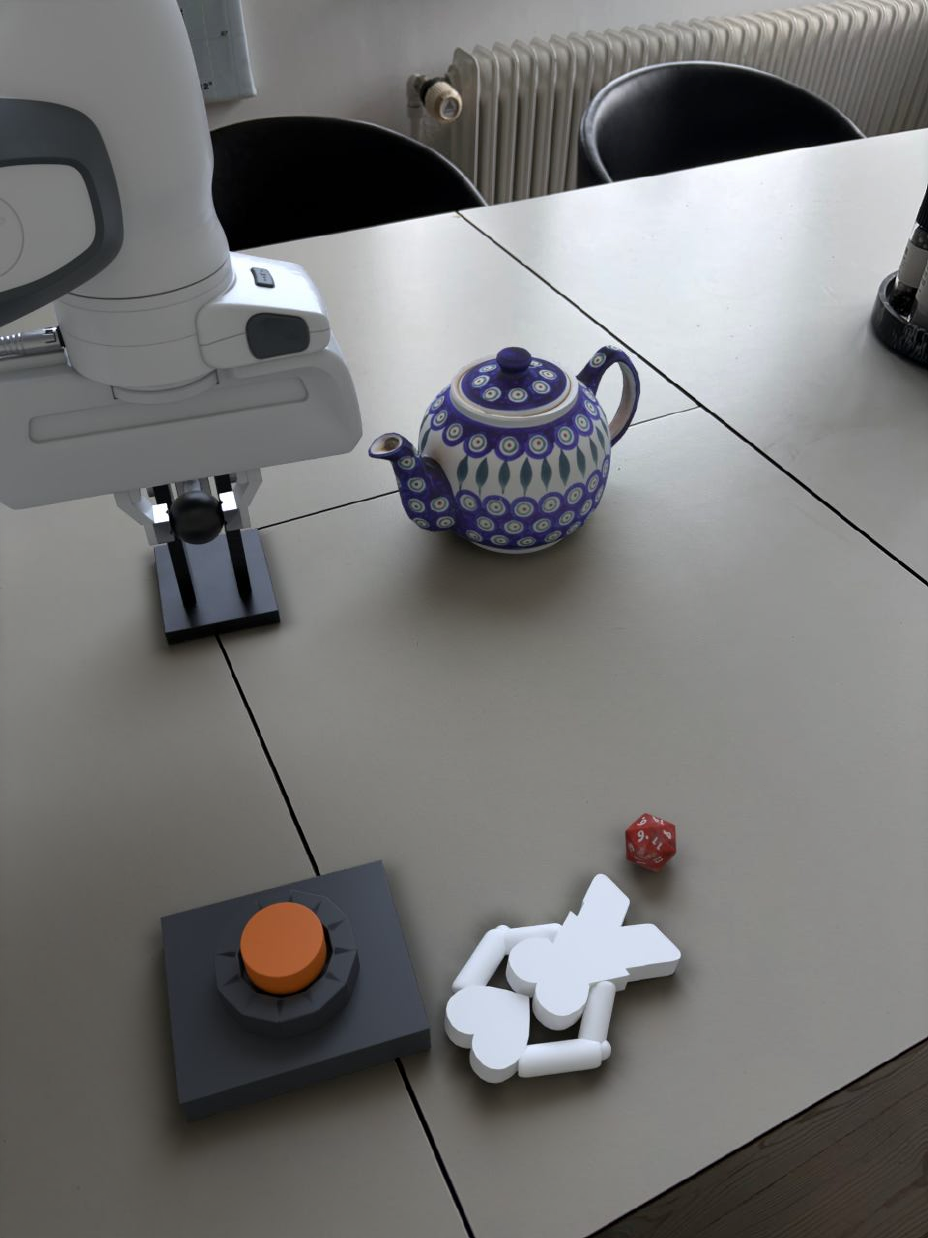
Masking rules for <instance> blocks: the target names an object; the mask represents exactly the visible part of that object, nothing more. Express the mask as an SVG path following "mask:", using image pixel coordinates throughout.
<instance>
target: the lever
mask: <svg viewBox="0 0 928 1238" xmlns="http://www.w3.org/2000/svg"><path fill="white" fill-rule="evenodd" d="M174 486H175V487H174V488H175V492H176V496H177V497H176V498H174V499H175V501H174V502H173V504H172V505H171V508H170V511H169V519H170V523H171V529H172V531H173V532H174V534H175V535H176V536H177V537H178V538H179V539H181V540H182V541H184V542H186V543H189V544H194V545H201V544H206V543H208V542H211V541H212V540H214V539H215V538H216V537H217V536H218V535H221V533H222V530H223V528H224V515H223V510H222V506H221V504H220V503H219V500H218V498H216V497H215V496H214V495H212V491H211V484H210V481H209V477H206V478H200V479H194V480H189V481H183V482H177V483H174Z"/></svg>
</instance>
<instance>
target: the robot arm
mask: <svg viewBox="0 0 928 1238" xmlns="http://www.w3.org/2000/svg"><path fill="white" fill-rule="evenodd" d="M197 68H198V67H197V63H196V60H195V56H194V52H193V48H192V44H191V41H190V36H189V33H188V31H187V27H186V25H185V21H184V18H183V15H182V12H181V8H180V7H179V4H178V1H177V0H0V328H2V327H5V326H6V325H9V324H11V323H13V322H15V321H17V320H19V319H22V318H23V317H25V316H27V315H30V314H31V313H34V312H36V311H38V310H40V309H42V308H43V307H45V306H47V305H49V304H52V309H53V312H54V314H55V318H56V322H57V326H49V327H43V328H37V329H28V330H24V331H19V332H15V333H11V334H6V335H1V336H0V503H1V504H3V505H4V506H6V507H8V508H9V509H10V510H11V509H12V510H17V511H18V510H25V509H31V508H36V507H43V506H48V505H54V504H55V505H56V504H61V503H67V502H71V501H72V502H73V501H76V500H77V501H78V500H82V499H89V498H95V497H101V496H106V495H107V496H108V495H113V497H114V500H115V504H116V507H117V508H119V509H120V510H121V511H122V512H124V513H125V514H126V515H128V516H129V517H130V518H131V519H132V520H134V521H135V522H136V523H138V524H139V525H140V526H143V527H144V531H145V536H146V539H147V543H148V546H149V547H152V546H156V545H157V546H158V545H165V544H167V543H169V542H174V541H175V539H174V535H173V531H172V529H171V523H170V519H169V511H168V507H167V503H165V504H159V505H157V504H153V503H151V502H150V501H149V500H148V499H147V498H146V497H145V496H144V495H143V494H142V491H141V490H142V489H146V488H148V487H154V486H159V485H165V484H171V485H172V484H175V483H177V482H183V481H189V480H194V479H200V478H206V477H208V478H212V477H214V476H218V475H224V474H229V473H235V472H236V476H237V481H236V483H234V486H233V487H232V492H227V493H222V494H219V496H220V501H221V506H222V510H223V515H224V520H225V524H226V529H227V531H232V530H238V529H240V530H246V529H249V528H250V529H251V528H252V524H251V517H250V512H249V507H250V506H251V504H252V502H253V500H254V499H255V496H256V494H257V492H258V491H259V488H260V486H261V485H262V482H263V477H262V471H261V469H264V468H269V467H276V466H281V465H288V464H292V463H298V462H305V461H311V460H315V459H321V458H329V457H333V456H334V457H335V456H340V455H347V454H349V453H351V452H352V451H353V450H354V449H355V448H356V446H357V445H358V444H359V442H360V441H361V439H362V437H363V432H364V430H363V422H362V415H361V409H360V404H359V400H358V396H357V390H356V387H355V384H354V379H353V377H352V374H351V371H350V369H349V365H348V363H347V361H346V358H345V355H344V353H343V350H342V348H341V346H340V345H339V343H338V341H337V339H336V337H335V335H334V332H333V330H332V329H331V323H330V318H329V317H330V316H329V312H328V309H327V305H326V302H325V298H324V296H323V294H322V292H321V290H320V288H319V286H318V285H317V283H316V282H315V280H314V278H313V277H312V276H311V274H310V273H309V272H308V271H307V269H306V268H305V267H303V266H302V265H300V264H297V263H294V262H289V261H285V260H278V259H274V258H273V259H272V258H266V257H262V256H257V255H250V254H244V253H240V252H235V251H232V250H231V251H230V246H229V241H228V238H227V235H226V233H225V230H224V228H223V226H222V224H221V222H220V219H219V218H218V215H217V213H216V209H215V205H214V201H213V192H212V184H213V175H214V167H215V165H214V164H215V162H214V161H215V158H214V157H215V156H214V150H213V149H214V148H213V143H212V138H211V133H210V127H209V121H208V116H207V110H206V105H205V100H204V95H203V90H202V86H201V82H200V77H199V72H198V69H197Z"/></svg>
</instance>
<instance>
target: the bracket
mask: <svg viewBox="0 0 928 1238" xmlns="http://www.w3.org/2000/svg"><path fill="white" fill-rule="evenodd" d="M213 480H214V485H215V489H216V494H217V495H216V496H217V500H218V501H219V503H220V504H221V501H220V496H219V494H222V493H227V492H232V490H233V487H232V484H235V483H236V481H237V476H236V472H235V473H229V474H224V475H218V476H213ZM145 490H146V494H147V496H148V498H154V499H155V503H156V504H155V505H159V504H165V503H167V507H168V511H170V508H171V505H172V504H173V502H174V501H175V499H176V498H175V496H174V492H173V488H172V483H171V484H165V485H159V486H154V487H148V488H145ZM223 528H224V533H223V534H219V535H218V536H217V537H216V538H215V539H214V540H212V541H211V542H208V543H206V544H201V545H194V544H189V543H186V542H184V541H182V540H181V539H179V538H178V537H177V536H176V535H175V534H174V532H173V535H174V539H175V541H174V542H169V543H166V544H161V545H157V546H153V554H154V562H155V570H156V578H157V585H158V592H159V600H160V608H161V615H162V623H163V629H164V630H163V631H164V636H165V638H166V642H167V645H168V646H171V645H175V644H180V643H185V642H190V641H194V640H200V639H205V638H209V637H215V636H220V635H224V634H229V633H234V632H238V631H244V630H248V629H254V628H258V627H262V626H263V627H264V626H269V625H273V624H278V623H281V616H280V610H279V607H278V602H277V599H276V595H275V590H274V587H273V584H272V583H273V582H272V579H271V575H270V572H269V567H268V564H267V560H266V555H265V551H264V548H263V544H262V541H261V537H260V532H259V528H257V527H254V528H250V529H249V528H248V529H243V530H241V529H238V530H232V531H227V529H226V524H225V520H224V526H223Z"/></svg>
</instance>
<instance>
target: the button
mask: <svg viewBox="0 0 928 1238" xmlns="http://www.w3.org/2000/svg"><path fill="white" fill-rule="evenodd" d="M240 950H241V954H242V958H243V961H244V964H245V968H246V971H247V974H248V976H249V978H250V979H251V981H252V982H253V983H254V984H255V985H256V986H257V987H258V988H260V989H261V990H263V991H266V992H268V993H272V994H290V993H294V992H297V991H299V990H301V989H303V988H305V987H306V986H308V985H309V984H310V983H312V982H313V981H314V980H315V979H316V978H317V976H318V975H319V974H320V972H321V970H322V969H323V966H324V964H325V960H326V944H325V939H324V933H323V928H322V925H321V922H320V920H319V919H318V917H317V916H316V915H315V913H314V912H313V911H311V910H310V909H309V908H307V907H305V906H303V905H300V904H297V903H291V902H284V903H277V904H273V905H270V906H268V907H266V908H264V909H262V910H260V911H259V912H258V913H256V914H255V915H254V916H253V917H252V918H251V919H250V920H249V922H248V923H247V925H246V926H245V928H244V930H243V933H242V936H241V941H240Z"/></svg>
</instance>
